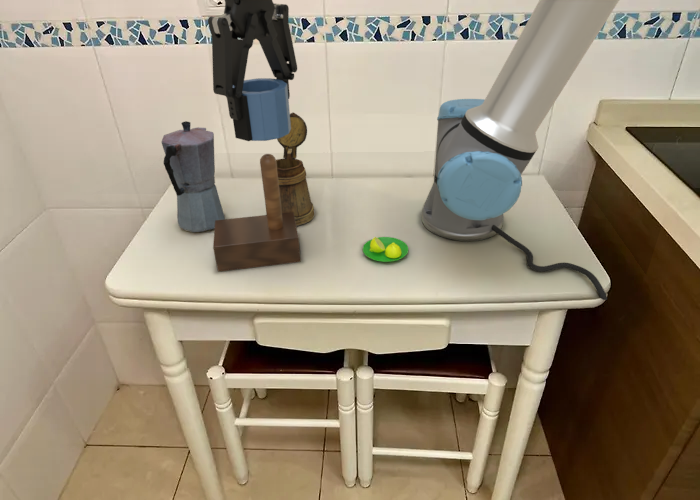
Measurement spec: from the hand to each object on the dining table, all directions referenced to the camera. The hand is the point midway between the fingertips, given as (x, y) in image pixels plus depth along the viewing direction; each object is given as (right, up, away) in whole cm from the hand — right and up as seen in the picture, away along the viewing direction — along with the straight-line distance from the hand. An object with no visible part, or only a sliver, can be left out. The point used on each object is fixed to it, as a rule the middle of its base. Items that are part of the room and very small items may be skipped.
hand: (263, 129), depth 80 cm
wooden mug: (+2, -11, +25) cm, 27 cm away
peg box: (-3, -19, +12) cm, 23 cm away
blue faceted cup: (0, 0, 0) cm, 0 cm away
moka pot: (-15, -14, +21) cm, 30 cm away
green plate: (+20, -19, +11) cm, 30 cm away
